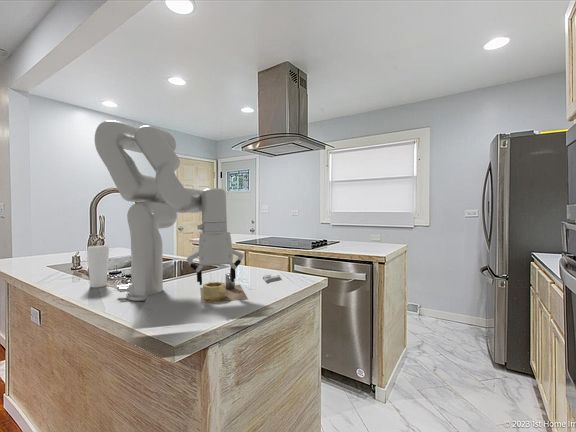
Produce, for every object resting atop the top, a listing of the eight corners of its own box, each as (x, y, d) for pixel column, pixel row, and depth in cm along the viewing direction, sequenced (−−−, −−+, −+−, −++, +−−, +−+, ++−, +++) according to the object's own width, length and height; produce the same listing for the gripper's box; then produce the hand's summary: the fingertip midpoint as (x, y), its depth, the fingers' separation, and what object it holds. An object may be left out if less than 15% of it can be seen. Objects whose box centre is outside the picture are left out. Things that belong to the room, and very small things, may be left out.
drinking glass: (90, 284, 116) (90, 245, 115) (110, 283, 118) (110, 245, 117) (85, 289, 109) (84, 247, 109) (106, 288, 111) (105, 247, 111)
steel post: (226, 290, 104) (226, 275, 104) (225, 287, 107) (225, 273, 107) (235, 289, 105) (235, 274, 104) (234, 287, 108) (234, 273, 108)
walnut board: (201, 308, 89) (201, 303, 89) (200, 291, 107) (200, 287, 107) (248, 304, 94) (248, 299, 93) (240, 289, 111) (240, 284, 111)
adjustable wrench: (246, 294, 106) (246, 289, 106) (232, 291, 109) (232, 286, 109) (282, 279, 128) (282, 275, 128) (269, 277, 131) (269, 273, 131)
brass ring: (203, 301, 91) (203, 288, 91) (202, 295, 98) (202, 282, 97) (225, 299, 93) (225, 286, 93) (223, 293, 99) (223, 281, 99)
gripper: (185, 230, 89) (187, 288, 89) (244, 227, 94) (246, 282, 94) (185, 228, 96) (187, 282, 96) (240, 226, 101) (242, 277, 101)
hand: (216, 282), depth 95 cm, fingers open, 9 cm apart
